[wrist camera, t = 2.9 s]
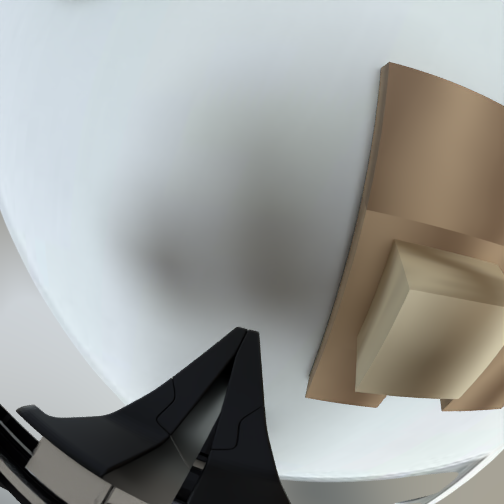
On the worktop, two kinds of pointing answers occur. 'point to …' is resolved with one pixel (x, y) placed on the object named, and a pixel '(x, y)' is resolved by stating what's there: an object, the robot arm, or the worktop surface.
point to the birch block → (430, 324)
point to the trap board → (419, 215)
